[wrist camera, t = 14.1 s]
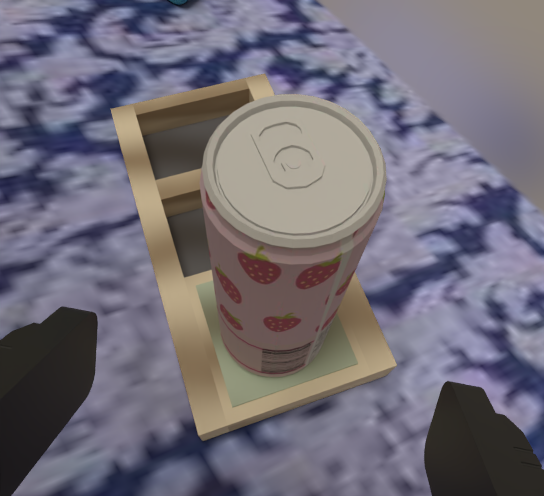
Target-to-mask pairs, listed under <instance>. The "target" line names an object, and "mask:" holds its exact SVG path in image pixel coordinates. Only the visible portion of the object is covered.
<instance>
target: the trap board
mask: <svg viewBox="0 0 544 496" xmlns="http://www.w3.org/2000/svg"><path fill="white" fill-rule="evenodd" d="M269 96H275V95H274V92H273V90H272V88H271V86H270V84H269V81H268V79H267V77H266V75H265V74H261V75H257V76H252V77H248V78H244V79H239V80H235V81H231V82H226V83H222V84H218V85H213V86H209V87H204V88H200V89H196V90H191V91H187V92H183V93H178V94H174V95H170V96H165V97H161V98H156V99H152V100H148V101H143V102H139V103H135V104H130V105H126V106H122V107H117V108H113V109H111V112H112V116H113V120H114V123H115V127H116V131H117V135H118V138H119V142H120V146H121V149H122V153H123V157H124V161H125V164H126V168H127V172H128V175H129V179H130V183H131V187H132V190H133V194H134V198H135V201H136V205H137V209H138V213H139V216H140V220H141V224H142V227H143V231H144V235H145V239H146V242H147V246H148V250H149V253H150V257H151V261H152V265H153V268H154V272H155V276H156V279H157V283H158V287H159V291H160V294H161V298H162V302H163V305H164V309H165V313H166V317H167V320H168V324H169V328H170V331H171V335H172V339H173V343H174V346H175V350H176V354H177V357H178V361H179V365H180V368H181V372H182V376H183V380H184V383H185V387H186V391H187V394H188V398H189V402H190V406H191V409H192V413H193V417H194V420H195V424H196V428H197V432H198V435H199V437H200V438H201V440H202V441H204V440H207V439H210V438H213V437H216V436H218V435H221V434H224V433H227V432H230V431H232V430H235V429H238V428H241V427H244V426H247V425H249V424H252V423H255V422H258V421H261V420H263V419H266V418H269V417H272V416H275V415H277V414H280V413H283V412H286V411H289V410H291V409H294V408H297V407H300V406H303V405H305V404H308V403H311V402H314V401H317V400H319V399H322V398H325V397H328V396H331V395H333V394H336V393H339V392H342V391H345V390H347V389H350V388H353V387H356V386H359V385H362V384H364V383H367V382H370V381H373V380H376V379H378V378H381V377H384V376H386V375H387V374H388V373H390V372H391V371H392V370H393V369H394V368H395V367H396V366H397V364H396V362H395V360H394V357H393V355H392V353H391V351H390V349H389V346H388V344H387V342H386V340H385V338H384V335H383V333H382V331H381V329H380V327H379V324H378V322H377V320H376V318H375V316H374V313H373V311H372V309H371V307H370V304H369V302H368V300H367V298H366V296H365V293H364V291H363V289H362V287H361V285H360V282H359V280H358V278H357V276H356V274H355V272H354V274H353V277H352V279H351V281H350V283H349V286H348V288H347V290H346V292H345V295H344V297H343V299H342V301H341V304H340V306H339V308H338V310H337V313H336V315H335V317H334V319H333V322H332V324H331V326H330V328H329V331H328V333H327V335H326V338H325V340H324V342H323V344H322V346H321V349H320V351H319V353H318V354H317V355H316V357H315V358H314V359H313V361H312V362H311V363H309V364H308V365H307V366H306V367H305V368H303V369H301V370H300V371H298V372H296V373H294V374H290V375H287V376H283V377H265V376H259V375H257V374H254V373H251V372H249V371H247V370H246V369H244V368H243V367H241V366H239V365H238V364H237V363H236V362H235V361H234V360H233V359H232V358H231V356H230V355H229V353H228V352H227V350H226V348H225V346H224V343H223V341H222V338H221V332H220V325H219V318H218V311H217V304H216V297H215V290H214V283H213V276H212V269H211V262H210V255H209V248H208V241H207V234H206V227H205V220H204V213H203V206H202V199H201V191H200V176H201V168H202V165H203V156H204V151H205V149H206V146H207V144H208V141H209V139H210V137H211V136H212V134H213V133H214V131H215V130H216V129H217V127H218V126H219V125H220V124H221V123H222V122H223V121H224V120H225V119H226V118H227V117H228V116H229V115H231V114H232V113H233V112H234V111H236V110H237V109H239V108H241V107H242V106H244V105H246V104H247V103H250V102H253V101H255V100H258V99H261V98H264V97H269Z"/></svg>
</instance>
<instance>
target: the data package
mask: <svg viewBox="0 0 544 496" xmlns="http://www.w3.org/2000/svg"><path fill="white" fill-rule="evenodd" d="M169 1H170V2H172V3H174V4H177V5H181V4H183V3H185V2H186V1H187V0H169Z"/></svg>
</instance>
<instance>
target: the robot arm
mask: <svg viewBox="0 0 544 496" xmlns="http://www.w3.org/2000/svg"><path fill="white" fill-rule="evenodd" d="M97 326H98V321H97V315H96V314H95V313H94V312H89V311H84V310H79V309H74V308H68V307H60V308H59V309H58V310H56V311H55V312H54V313H53V314H52V315H50V316H49V317H48V318H47V319H46V320H44V321H43V322H42V323H41V324H38V323H32V324H30V325H27V326H24V327H22V328H19V329H17V330H14V331H12V332H10V333H9V334H8V335H7V336H5V337H4V338H3V339H1V340H0V496H11V495H12V494H13V493H14V491H15V490H16V489H17V487H18V486H19V485H20V484H21V482H22V481H23V480H24V478H25V477H26V476H27V474H28V473H29V472H30V471H31V469H32V468H33V467H34V465H35V464H36V463H37V461H38V460H39V459H40V458H41V456H42V455H43V454H44V452H45V451H46V450H47V449H48V447H49V446H50V445H51V443H52V442H53V441H54V439H55V438H56V437H57V436H58V434H59V433H60V432H61V430H62V429H63V428H64V426H65V425H66V424H67V423H68V421H69V420H70V419H71V417H72V416H73V415H74V413H75V412H76V411H77V410H78V408H79V407H80V406H81V404H82V403H83V402H84V401H85V399H86V398H87V396H88V394H89V392H90V390H91V387H92V384H93V380H94V375H95V363H96V345H97ZM424 463H425V469H426V473H427V477H428V481H429V485H430V489H431V493H432V496H544V470H543V469H542V468H541V467H542V465H541V464H540V462H539V460H538V458H537V456H536V455H535V454H533V449H532V447H531V446H530V444H529V442H528V440H527V439H526V437H525V435H524V433H523V432H522V431H521V430H520V429H519V428H518V427H517V426H516V425H515V424H514V423H513V422H511V421H510V420H509V419H508V418H507V417H506V416H505V415H502V414H497V413H495V411H494V409H493V407H492V405H491V403H490V401H489V399H488V397H487V395H486V393H485V391H484V390H483V389H482V388H481V387H476V386H471V385H465V384H460V383H455V382H450V381H447V382H445V384H444V385H443V387H442V389H441V392H440V396H439V399H438V402H437V405H436V409H435V412H434V415H433V419H432V422H431V425H430V428H429V432H428V435H427V439H426V443H425V451H424Z"/></svg>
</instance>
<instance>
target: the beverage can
mask: <svg viewBox="0 0 544 496" xmlns="http://www.w3.org/2000/svg"><path fill="white" fill-rule="evenodd" d="M385 185H386V165H385V161H384V158H383V155H382V152H381V149H380V147H379V145H378V143H377V142H376V140H375V138H374V137H373V135H372V134H371V132H370V131H369V129H368V128H367V127H366V126H365V125H364V124H363V123H362V122H361V121H360V120H359V119H358V118H357V117H355V116H354V115H353V114H351V113H350V112H349V111H347V110H346V109H344V108H342V107H340V106H338V105H336V104H334V103H332V102H330V101H327V100H323V99H320V98H317V97H313V96H306V95H299V94H283V95H275V96H269V97H264V98H261V99H258V100H255V101H253V102H250V103H247V104H246V105H244V106H242V107H241V108H239V109H237V110H236V111H234V112H233V113H232V114H231V115H229V116H228V117H227V118H226V119H225V120H224V121H223V122H222V123H221V124H220V125H219V126H218V127H217V129H216V130H215V131H214V133H213V134H212V136H211V137H210V139H209V141H208V144H207V146H206V149H205V151H204V156H203V165H202V168H201V176H200V191H201V199H202V206H203V213H204V220H205V227H206V234H207V241H208V248H209V255H210V262H211V269H212V276H213V283H214V290H215V297H216V304H217V311H218V318H219V325H220V332H221V338H222V341H223V343H224V346H225V348H226V350H227V352H228V353H229V355H230V356H231V358H232V359H233V360H234V361H235V362H236V363H237V364H238V365H239V366H241V367H243V368H244V369H246V370H247V371H249V372H251V373H254V374H257V375H259V376H265V377H283V376H287V375H290V374H294V373H296V372H298V371H300V370H301V369H303V368H305V367H306V366H307V365H308V364H309V363H311V362H312V361H313V359H314V358H315V357H316V355H317V354H318V353H319V351H320V349H321V346H322V344H323V342H324V340H325V338H326V335H327V333H328V331H329V328H330V326H331V324H332V322H333V319H334V317H335V315H336V313H337V310H338V308H339V306H340V304H341V301H342V299H343V297H344V295H345V292H346V290H347V288H348V286H349V283H350V281H351V279H352V277H353V274H354V272H355V270H356V268H357V265H358V263H359V261H360V259H361V256H362V254H363V252H364V249H365V247H366V245H367V243H368V240H369V238H370V236H371V234H372V231H373V229H374V227H375V225H376V222H377V220H378V218H379V216H380V213H381V211H382V207H383V202H384V196H385Z"/></svg>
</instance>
